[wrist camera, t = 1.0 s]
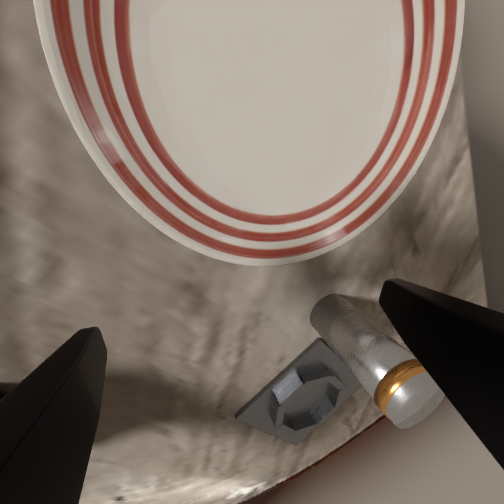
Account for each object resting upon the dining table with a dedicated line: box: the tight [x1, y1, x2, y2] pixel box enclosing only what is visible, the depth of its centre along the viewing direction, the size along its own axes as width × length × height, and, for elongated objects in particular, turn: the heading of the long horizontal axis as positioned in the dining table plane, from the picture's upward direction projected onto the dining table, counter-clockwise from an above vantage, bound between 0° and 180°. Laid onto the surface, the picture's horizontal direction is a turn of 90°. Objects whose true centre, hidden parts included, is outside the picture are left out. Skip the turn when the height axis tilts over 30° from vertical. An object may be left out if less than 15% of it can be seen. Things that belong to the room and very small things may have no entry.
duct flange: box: [235, 338, 362, 446], centre depth 34 cm, size 14×14×2 cm
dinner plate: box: [33, 0, 465, 266], centre depth 17 cm, size 27×27×3 cm
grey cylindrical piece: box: [310, 294, 445, 428], centre depth 25 cm, size 5×5×12 cm
